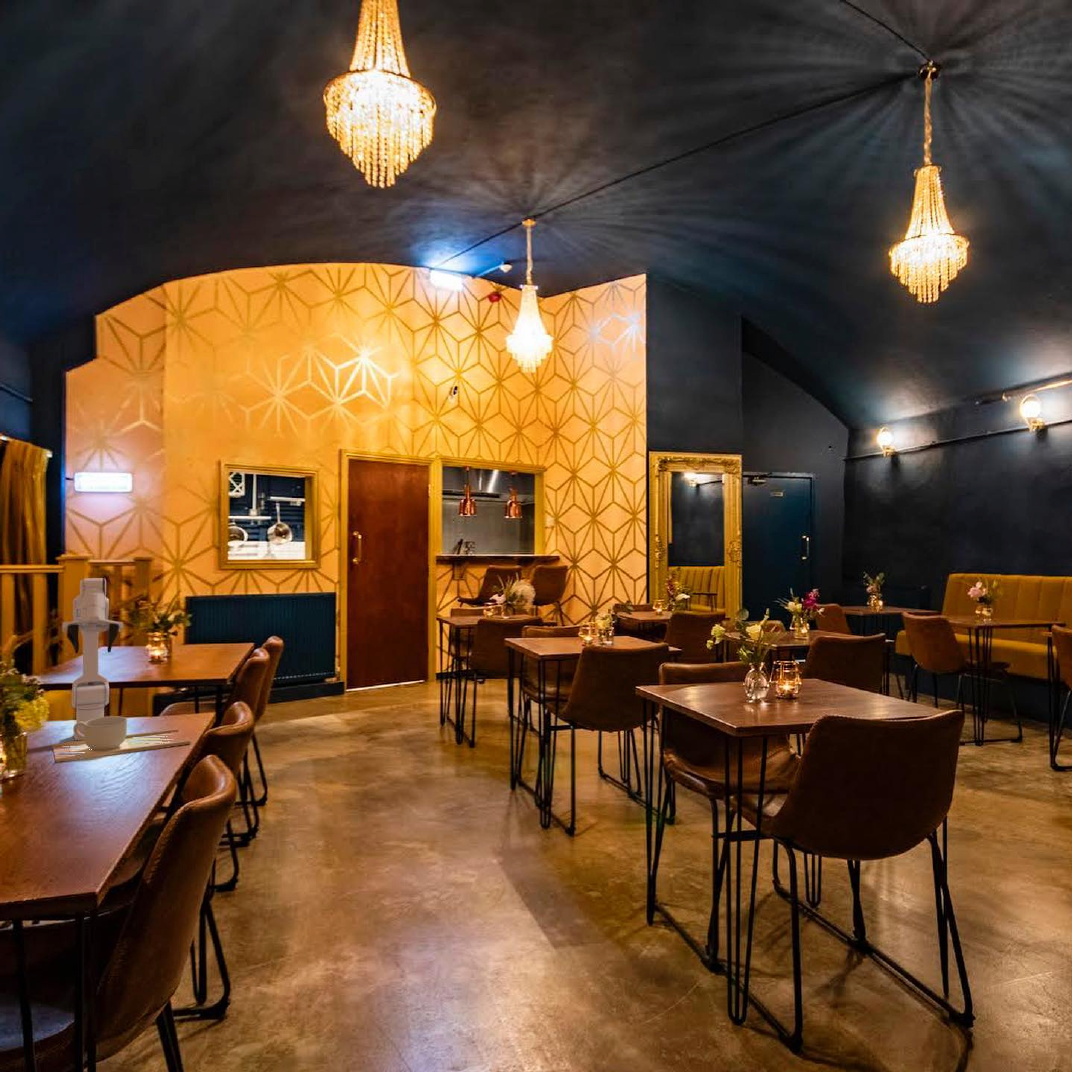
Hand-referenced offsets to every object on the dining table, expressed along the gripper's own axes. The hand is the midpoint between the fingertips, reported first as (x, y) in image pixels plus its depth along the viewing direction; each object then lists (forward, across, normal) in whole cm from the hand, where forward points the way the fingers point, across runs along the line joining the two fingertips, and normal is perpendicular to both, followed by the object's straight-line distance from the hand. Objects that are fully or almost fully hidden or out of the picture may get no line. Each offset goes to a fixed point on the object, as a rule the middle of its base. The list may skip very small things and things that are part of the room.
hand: (93, 650), depth 205 cm
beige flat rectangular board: (+14, +10, +27) cm, 32 cm away
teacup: (+14, +4, +27) cm, 31 cm away
